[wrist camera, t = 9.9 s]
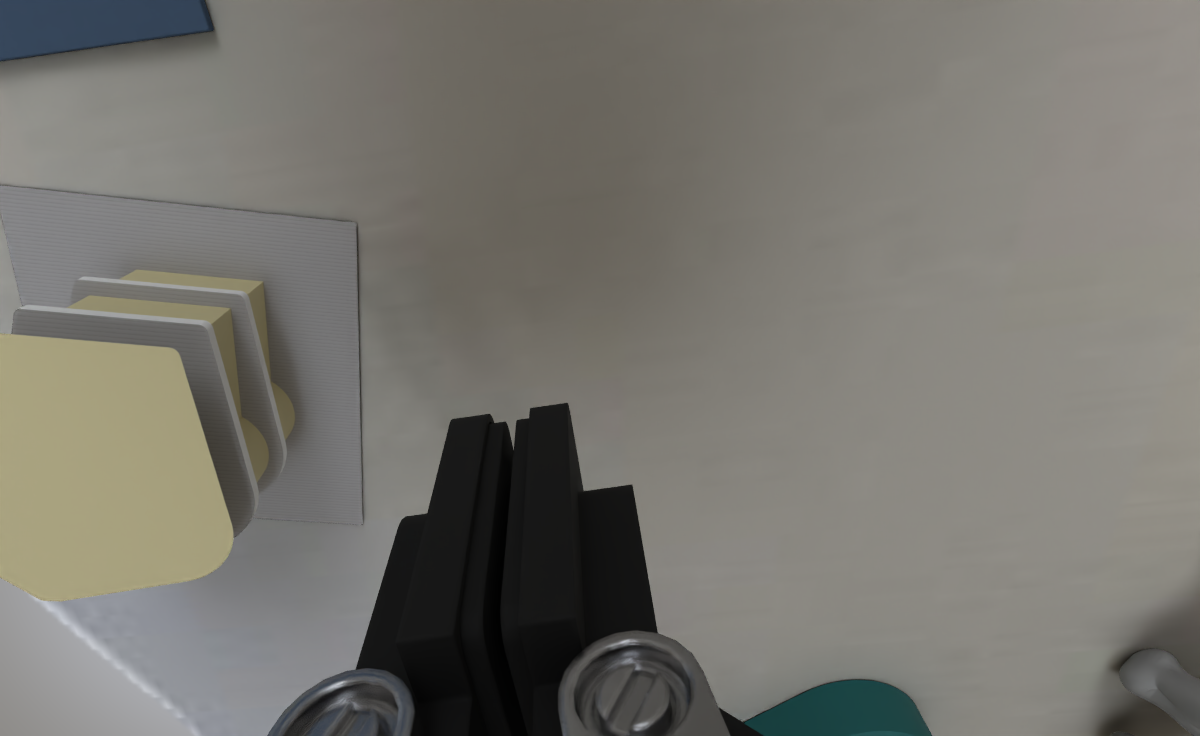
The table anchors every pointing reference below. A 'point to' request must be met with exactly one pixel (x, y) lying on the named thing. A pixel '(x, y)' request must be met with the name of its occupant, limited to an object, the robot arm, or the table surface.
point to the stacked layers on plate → (170, 387)
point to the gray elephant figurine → (1163, 686)
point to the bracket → (844, 712)
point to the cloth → (93, 24)
